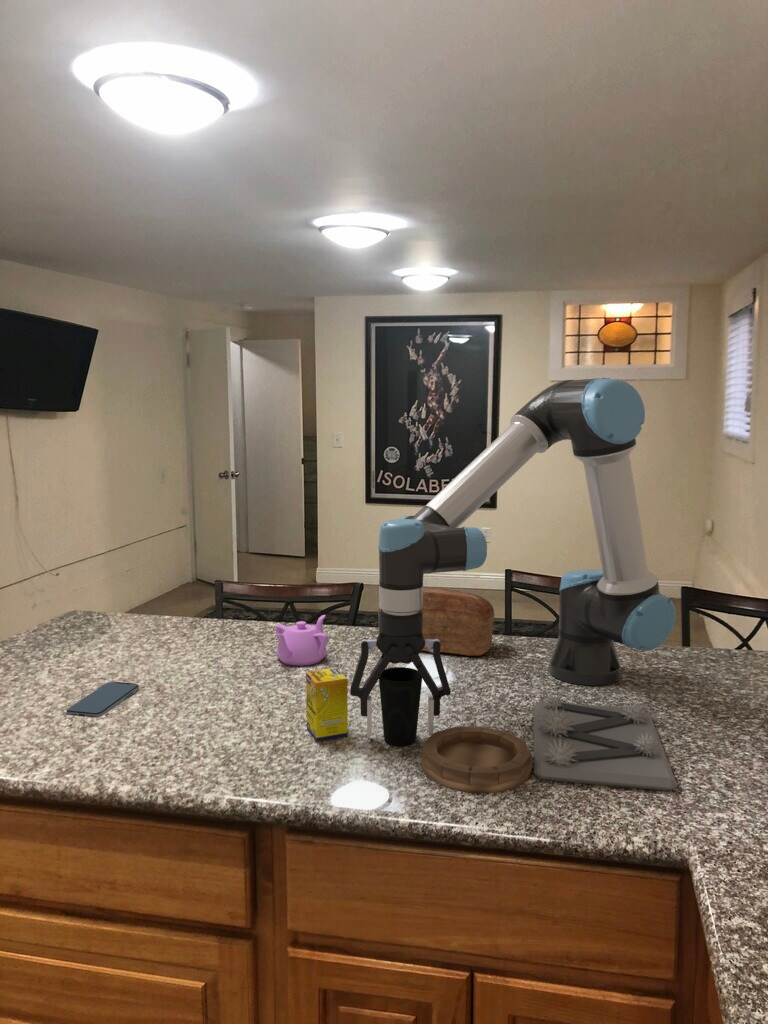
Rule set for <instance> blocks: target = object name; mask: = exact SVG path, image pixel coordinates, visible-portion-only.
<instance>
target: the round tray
mask: <svg viewBox="0 0 768 1024" xmlns="http://www.w3.org/2000/svg"><path fill="white" fill-rule="evenodd" d="M422 744H423V745H422V746H423V747H422V753H421V756H420V767H421V770H422V772H423V773H424V775H426V777H427V778H429V779H430V780H431V781H433V782H435V783H437V784H439V785H441V786H443V787H445V788H448V789H453V790H456V791H462V792H466V793H467V792H468V793H478V794H479V793H481V794H485V793H486V794H487V793H489V794H490V793H499V792H500V793H501V792H504V791H505V792H506V791H509V790H512V789H515V788H518V787H520V786H522V785H523V784H525V783H526V782H527V781H528V780H529V779H530V778H531V775H532V772H533V762H532V752H531V751H530V748H529V747H528V746H529V745H528V744H527V742H526V741H525V740H523V739H522V738H521V737H520V738H519V737H518V736H516V735H514V734H513V733H510V732H509V731H505V730H501V729H496V728H492V727H486V726H454V727H450V728H445V729H443V730H442V729H441V730H438V731H434V732H433V734H432V735H431V736H428V738H426V739H425V740H424V741H423V743H422Z"/></svg>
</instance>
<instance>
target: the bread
mask: <svg viewBox="0 0 768 1024" xmlns="http://www.w3.org/2000/svg"><path fill="white" fill-rule="evenodd" d="M381 610H382V609H381V608H380V607H378V611H377V614H378V615H377V616H378V619H379V612H380V611H381ZM420 610H421V612H422V613H423V628H422V634H423V637H424V639H431V640H433V639H434V638H438V639H439V641H440V644H441V648H440V653H449V654H456V655H463V656H471V657H472V656H482V655H485V653H488V651H489V650H490V649H491V646H492V642H493V630H494V618H495V609H494V606H493V605H492V604H491V602H490V601H489V600H487V599H486V598H484V597H483V596H480V595H477V594H474V593H471V592H466V591H461V590H455V589H447V588H441V587H440V588H436V587H434V588H433V587H430V588H423V607H422V609H420ZM422 651H423V652H424V651H425V652H429V650H428V647H426V646H424V648H423V649H422V650H421V652H422Z"/></svg>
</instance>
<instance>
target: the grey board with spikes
mask: <svg viewBox="0 0 768 1024" xmlns="http://www.w3.org/2000/svg"><path fill="white" fill-rule="evenodd" d="M562 696H563V695H560V693H558V694H557V696H556V692H555V691H554V694H552V693H550V696H549V694H546V697H544V700H545V701H541V700H539V701H537V702H536V703H535V704H534V705H533V774H534V775H535V776H536V777H537V778H538V779H539V780H542V781H543V780H544V781H552V782H553V781H554V782H564V783H574V784H575V783H576V784H587V785H599V786H607V787H608V786H609V787H610V786H611V787H618V788H620V787H621V788H629V789H630V788H631V789H643V790H653V791H664V792H665V791H666V792H671V791H672V790H675V788H677V787H678V783H677V780H676V778H675V775H674V773H673V771H672V768H671V765H670V763H669V760H668V757H667V755H666V752H665V749H664V747H663V744H662V742H661V739H660V737H659V734H658V732H657V729H656V727H655V724H654V721H653V719H652V716H651V713H649V710H648V708H643V707H644V706H645V703H644V704H642V703H640V701H639V702H638V704H636V700H635V699H633V704H632V703H631V701H628V705H627V704H626V703H623V704H624V705H625V707H624V706H623V707H622V706H608V705H597V704H595V705H594V704H581V703H568V702H567V701H566V698H563V699H561V698H562Z"/></svg>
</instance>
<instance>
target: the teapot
mask: <svg viewBox="0 0 768 1024" xmlns="http://www.w3.org/2000/svg"><path fill="white" fill-rule="evenodd" d="M325 617H326V614H322V615H320V616H319V617H318V620H317V622H316V625H315V626H314V625H313V624H307V622H306V621H303V620H301V621H296V623H295V624H293V625H290V626H288V627H287V626H285V625H283V624H281V623H280V624H279V623H277V624H276V625H275V634H274V635H275V636H276V637H277V639H278V640H277V642H278V643H277V647H276V656H277V658H278V659H279V660H280V662H282V663H283V664H285V665H289V666H296V667H298V666H299V667H300V666H302V667H303V666H313V665H315V664H318V663H320V662H321V661H322V660H323V659H324V658H325V656H326V655H327V645H328V641H329V635H328V634H327V633H324V629H323V627H324V626H323V623H324V619H325ZM283 631H284V632H283Z"/></svg>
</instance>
